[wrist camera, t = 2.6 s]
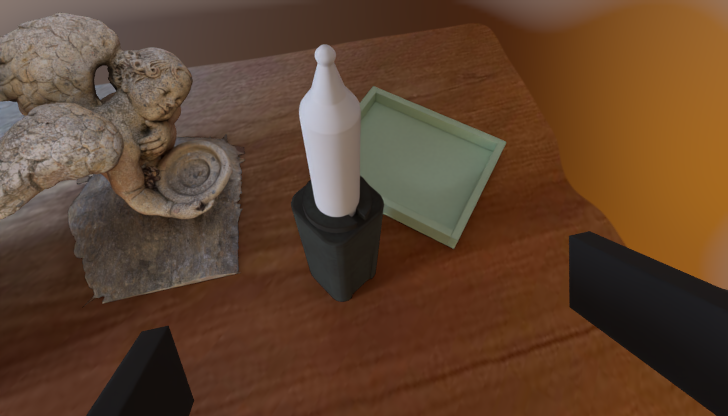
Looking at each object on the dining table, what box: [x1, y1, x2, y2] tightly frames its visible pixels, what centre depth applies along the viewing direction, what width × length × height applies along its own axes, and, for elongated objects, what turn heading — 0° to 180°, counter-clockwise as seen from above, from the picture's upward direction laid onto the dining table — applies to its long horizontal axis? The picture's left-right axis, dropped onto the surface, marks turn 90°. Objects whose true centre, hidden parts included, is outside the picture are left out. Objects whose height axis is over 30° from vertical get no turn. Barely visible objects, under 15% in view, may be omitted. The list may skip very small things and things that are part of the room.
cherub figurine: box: [0, 13, 245, 308], centre depth 32 cm, size 18×18×18 cm
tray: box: [360, 86, 506, 249], centre depth 42 cm, size 17×14×2 cm
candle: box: [291, 45, 384, 302], centre depth 26 cm, size 5×5×25 cm
